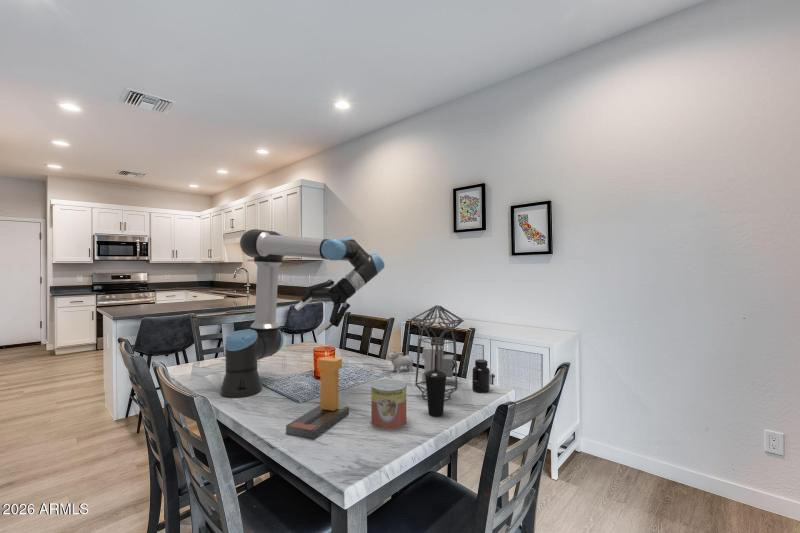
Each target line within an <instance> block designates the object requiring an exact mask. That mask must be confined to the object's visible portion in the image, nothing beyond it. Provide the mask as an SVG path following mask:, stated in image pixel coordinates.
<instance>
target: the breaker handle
mask: <svg viewBox="0 0 800 533" xmlns="http://www.w3.org/2000/svg"><path fill="white" fill-rule="evenodd" d="M316 365H317V366H316V369H318V370H320V405H321V409H326V410H332V411H334V410H336V409H337V408H339V403H340V402H339V401H340V400H339V399H340V398H339V393H340V392H339V391H340V390H339V388H340V386H339V383H340V382H339V380H340V379H339V377H340V376H339V370H340V369H342V368H343V358H340V357H338V358H337V357H331V356H330V357H329V356H328V357H327V356H323V357H320V358H318V359H316Z"/></svg>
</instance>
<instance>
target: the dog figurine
mask: <svg viewBox="0 0 800 533" xmlns="http://www.w3.org/2000/svg"><path fill="white" fill-rule="evenodd" d="M386 357H387V359H389V360H391V364H392V366H393V372H396V373H395V374H399V373H400V371H401V367H406V368H405V371H409V373H412V372H413V365H414V364H413V363H414V359H413V357H412V355H411V354H406V355H404V352H403V351H399V352H398V351H397V350H396V349H391V352H389V353H387V354H386Z"/></svg>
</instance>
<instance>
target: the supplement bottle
mask: <svg viewBox="0 0 800 533" xmlns="http://www.w3.org/2000/svg"><path fill="white" fill-rule="evenodd" d="M474 365H475V366H474V367H473V368H472V378H471V379H472V380H471V381H472V382H471V386H472V387H471V388H472V391H473V392H475V393H478V394H487V393H490V386H491V385H490V383H491V382H490V381H491V370H490V368H489V367H488V360H486V359H475V362H474Z"/></svg>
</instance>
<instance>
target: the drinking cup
mask: <svg viewBox="0 0 800 533" xmlns="http://www.w3.org/2000/svg"><path fill="white" fill-rule="evenodd" d="M424 375H425V378H426V385H425V387H426V388H425V389H427V391H426V393H427V394H426V395H427V396H426V399H427V400H426V401H427V410H428V415H429V416H430V417H435V418H438V417H442V416H444V406H445V401H444V400H445V399H446V398H445V397H446V396H445V394H446V392H445V390H446V384H447V383H446V382H447V378H448V377H447V373H446V372H444V371H442V370H438V369H437V354H435V369H433V370H429V371H427V372H425V373H424Z"/></svg>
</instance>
